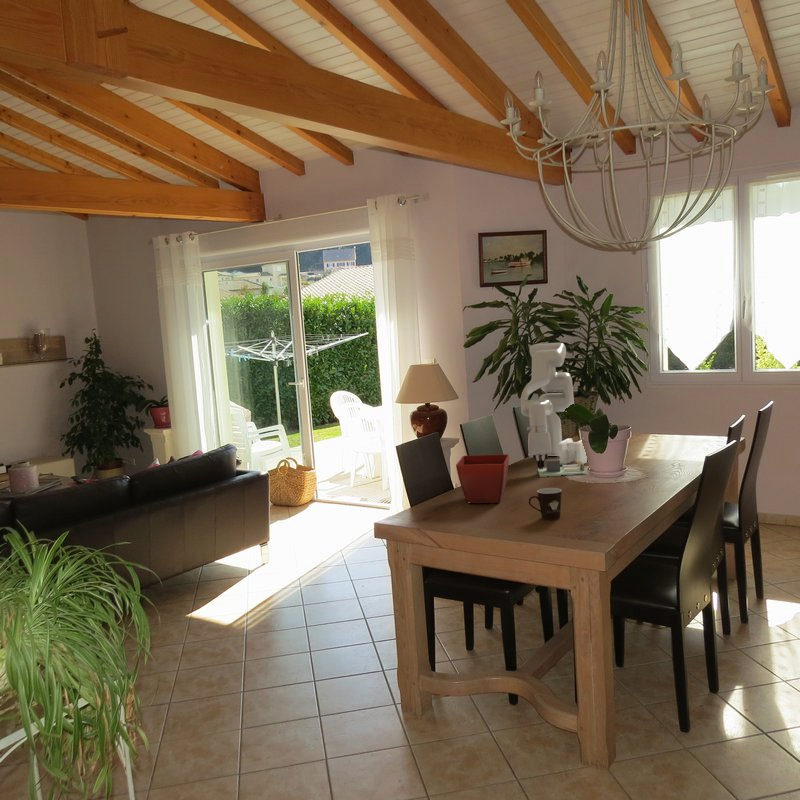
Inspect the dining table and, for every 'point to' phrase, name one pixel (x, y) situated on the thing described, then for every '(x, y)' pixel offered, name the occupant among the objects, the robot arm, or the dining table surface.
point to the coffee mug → (549, 503)
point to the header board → (564, 470)
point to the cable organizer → (571, 452)
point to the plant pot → (483, 477)
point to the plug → (553, 465)
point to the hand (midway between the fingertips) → (540, 468)
